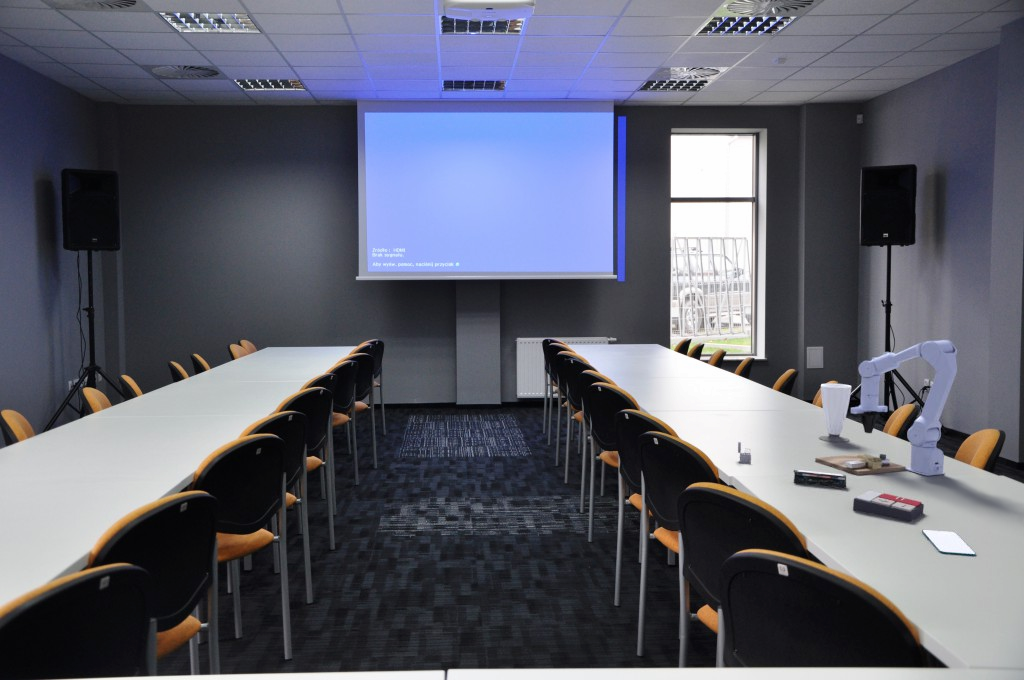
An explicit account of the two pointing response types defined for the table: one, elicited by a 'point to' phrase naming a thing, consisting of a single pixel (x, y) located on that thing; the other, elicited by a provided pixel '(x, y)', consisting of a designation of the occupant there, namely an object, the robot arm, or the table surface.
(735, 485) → the table surface
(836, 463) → the base plate
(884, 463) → the grey link
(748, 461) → the architectural model
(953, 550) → the smartphone
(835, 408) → the cup
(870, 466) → the wooden block
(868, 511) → the dark grey box
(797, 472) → the black flat case
